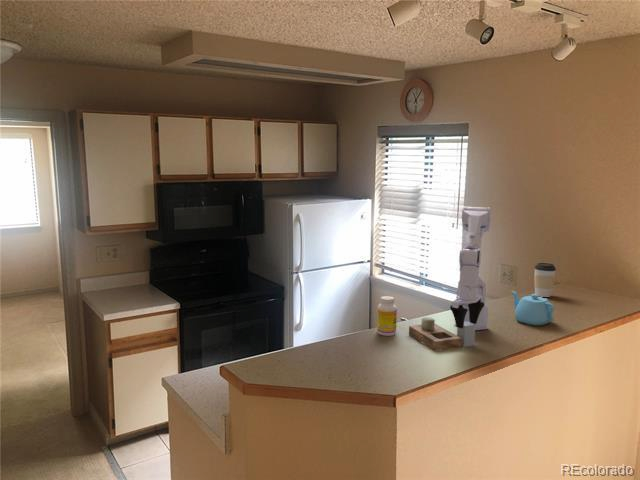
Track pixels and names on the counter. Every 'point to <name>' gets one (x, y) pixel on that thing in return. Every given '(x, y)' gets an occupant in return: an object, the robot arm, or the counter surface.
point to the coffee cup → (544, 279)
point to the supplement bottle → (386, 316)
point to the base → (434, 335)
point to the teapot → (533, 309)
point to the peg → (467, 334)
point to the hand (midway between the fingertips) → (466, 325)
